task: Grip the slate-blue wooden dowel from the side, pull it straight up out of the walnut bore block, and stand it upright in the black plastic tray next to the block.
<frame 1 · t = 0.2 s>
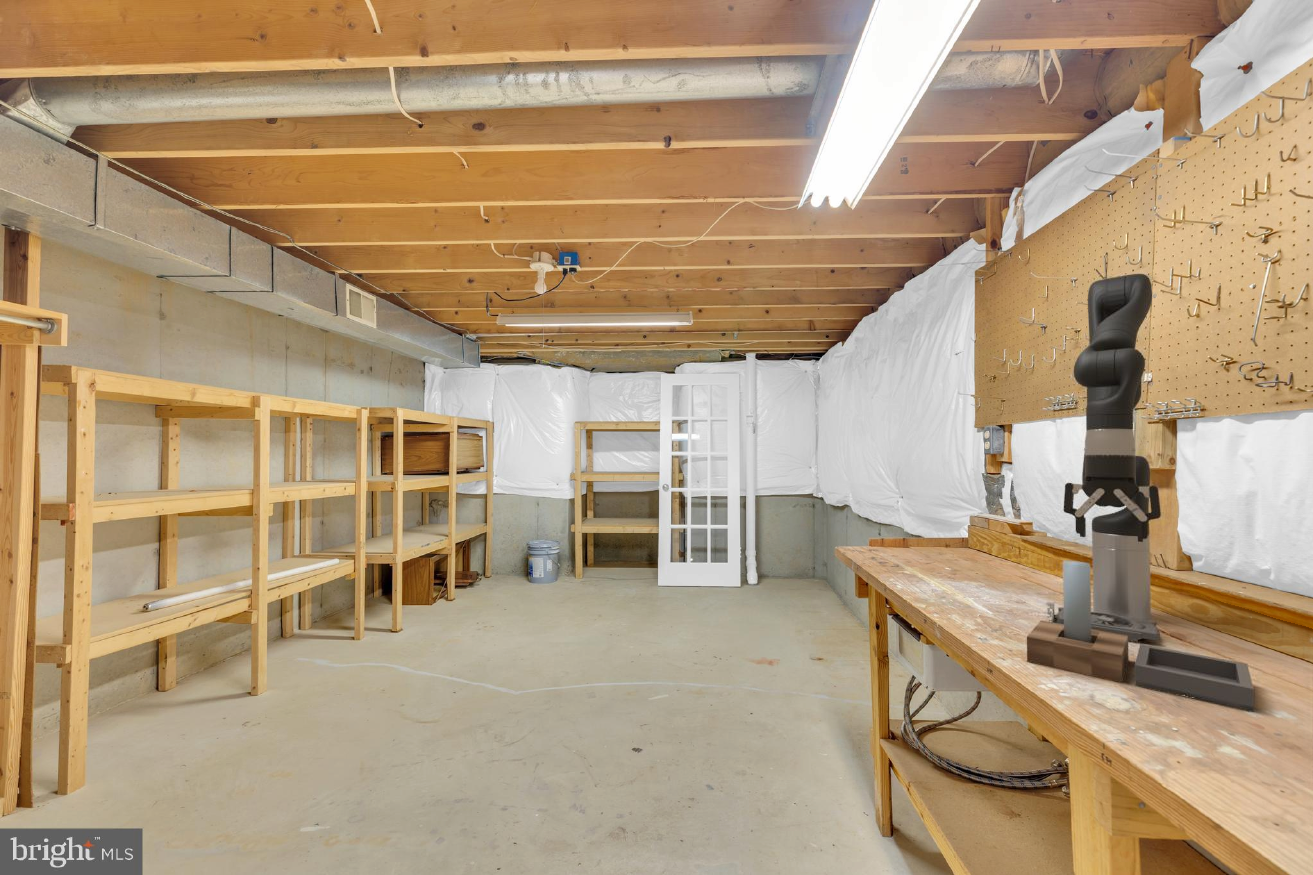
hand: (1110, 539, 106), 18 cm above the workbench, tool pointing down, fingers open, 8 cm apart
dowel: (1077, 611, 92), in the bore block
bore block: (1077, 660, 92), on the workbench
tray: (1191, 684, 83), on the workbench
graphics card: (1100, 636, 106), on the workbench
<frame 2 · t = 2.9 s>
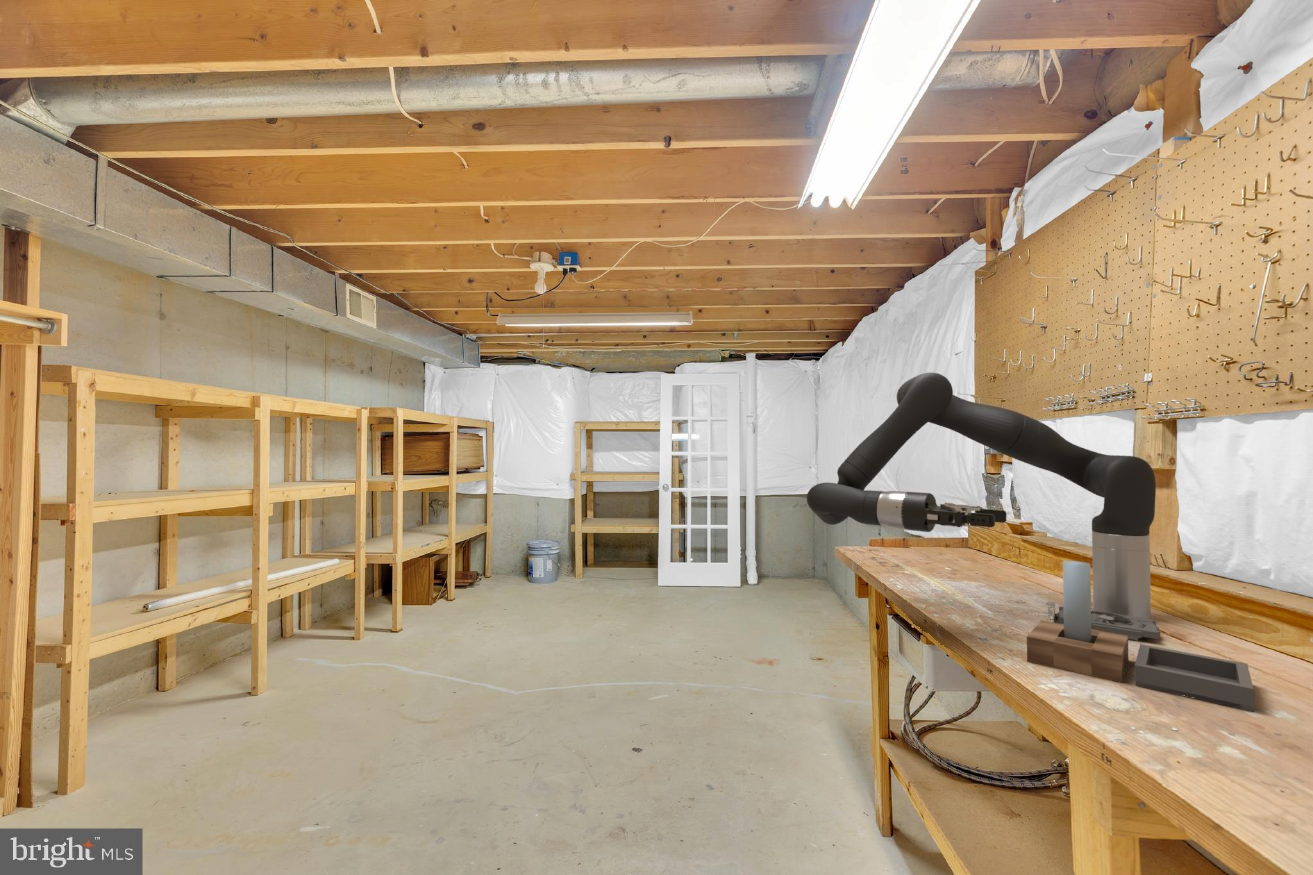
hand: (1000, 518, 100), 22 cm above the workbench, tool horizontal, fingers open, 8 cm apart
graphics card: (1100, 634, 107), on the workbench
everything else where it was.
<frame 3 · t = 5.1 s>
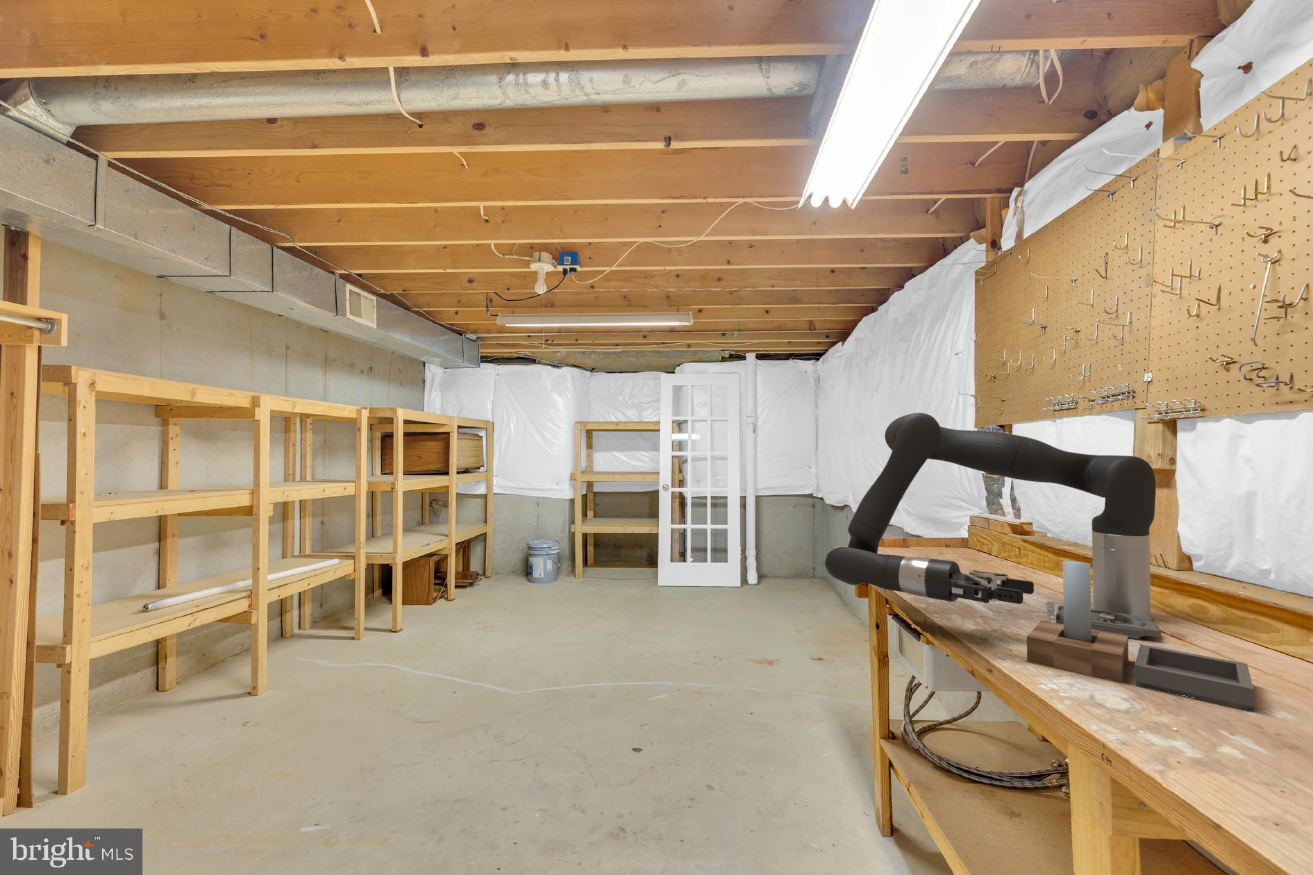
hand: (1028, 592, 97), 10 cm above the workbench, tool horizontal, fingers open, 8 cm apart
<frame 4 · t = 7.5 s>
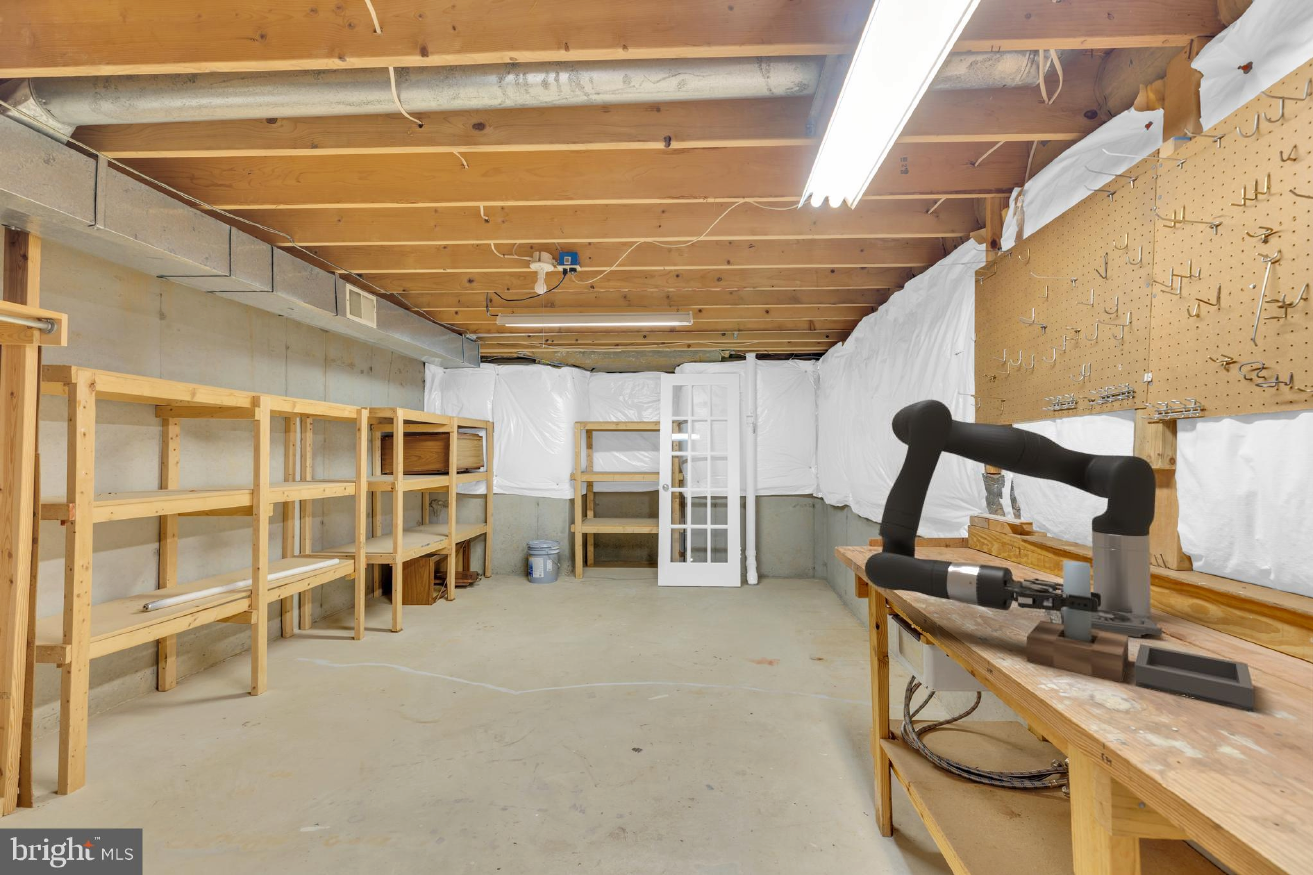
hand: (1098, 602, 90), 10 cm above the workbench, tool horizontal, fingers closed on dowel, 3 cm apart
dowel: (1077, 611, 92), in the bore block, touching gripper
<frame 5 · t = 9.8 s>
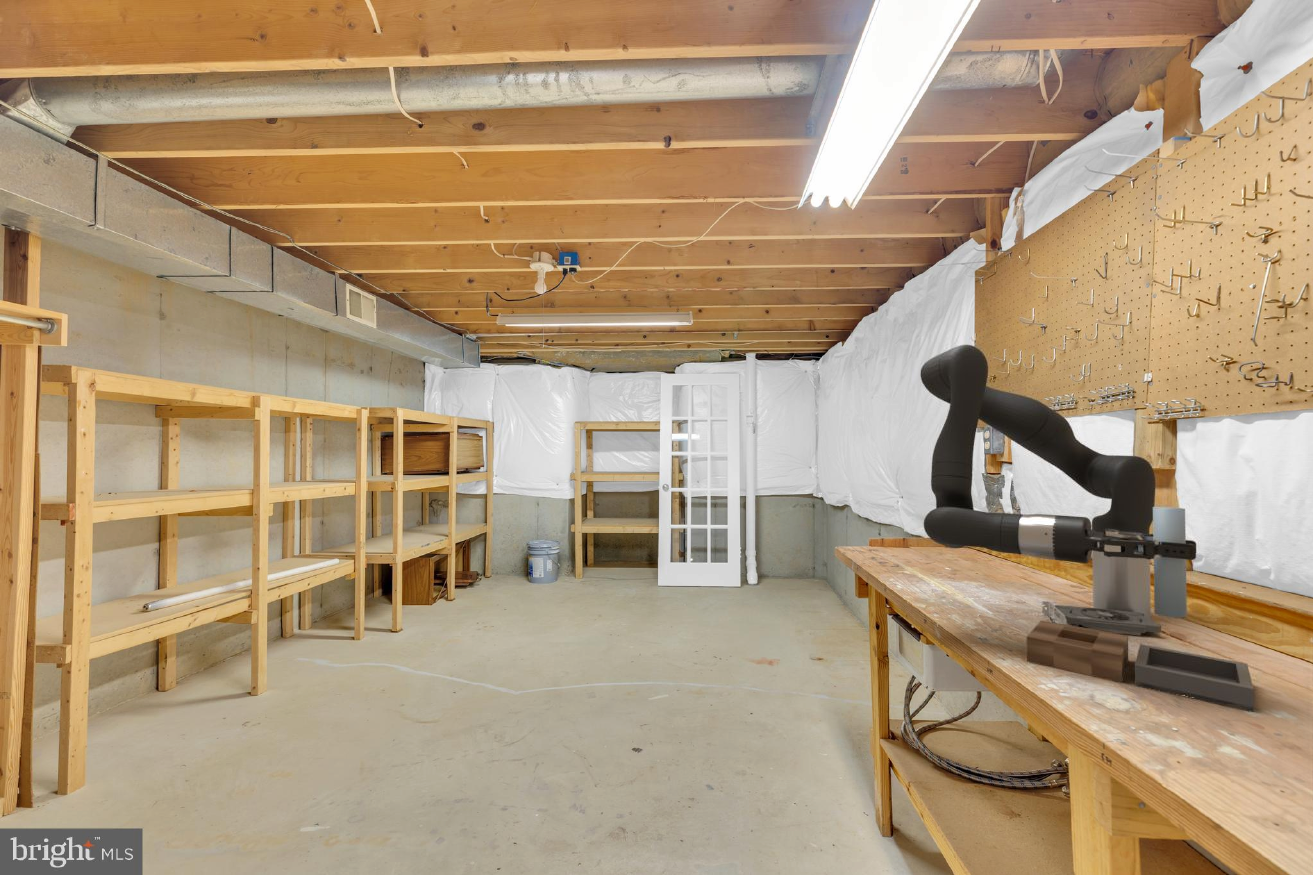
hand: (1195, 550, 83), 20 cm above the workbench, tool horizontal, fingers closed on dowel, 3 cm apart
dowel: (1169, 561, 84), point 18 cm above the workbench, touching gripper
when the fingers open (11 cm above the workbench, at t = 12.4 s): dowel stays where it is, resting on tray.
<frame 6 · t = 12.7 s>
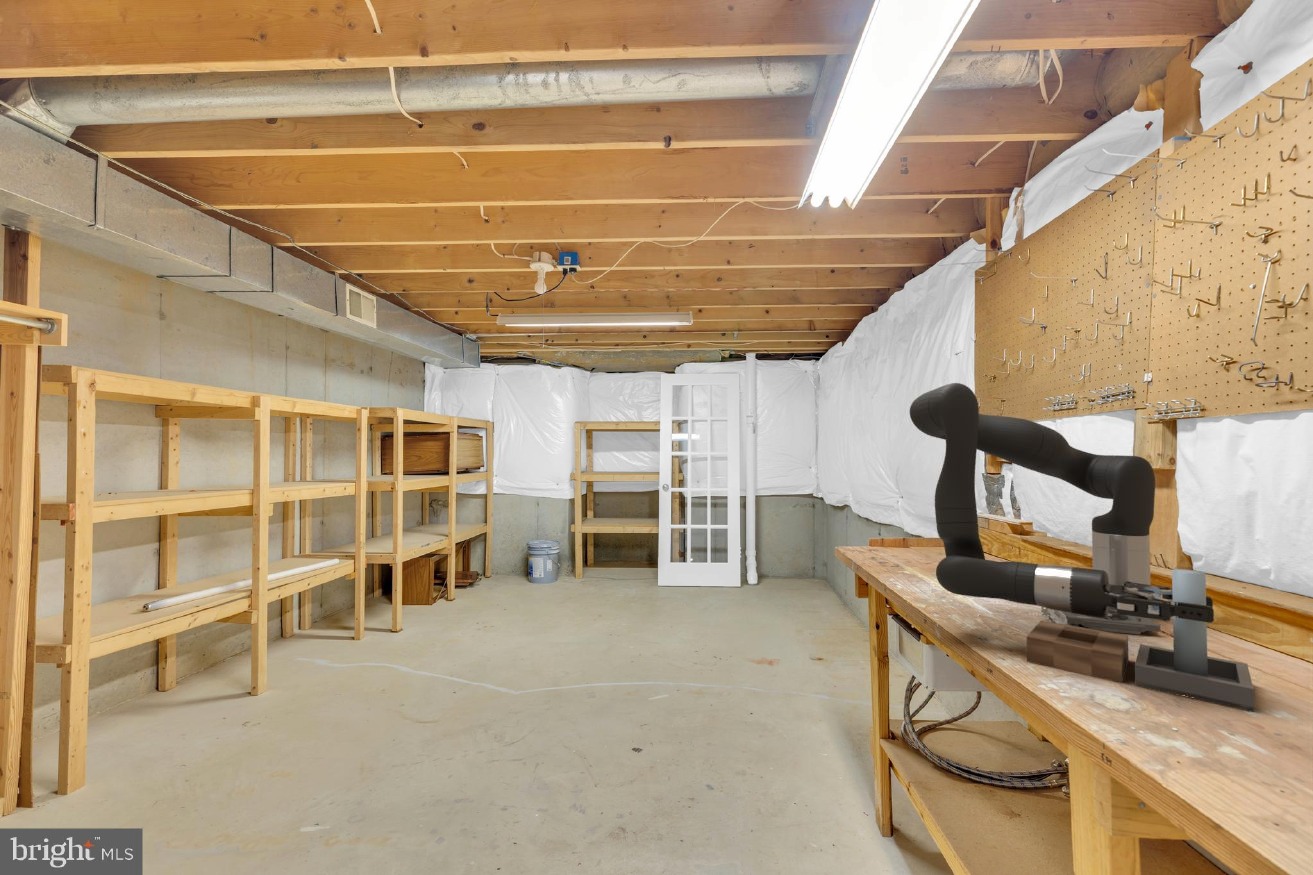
hand: (1212, 609, 81), 12 cm above the workbench, tool horizontal, fingers open, 6 cm apart
dowel: (1189, 626, 83), in the tray, point 9 cm above the workbench
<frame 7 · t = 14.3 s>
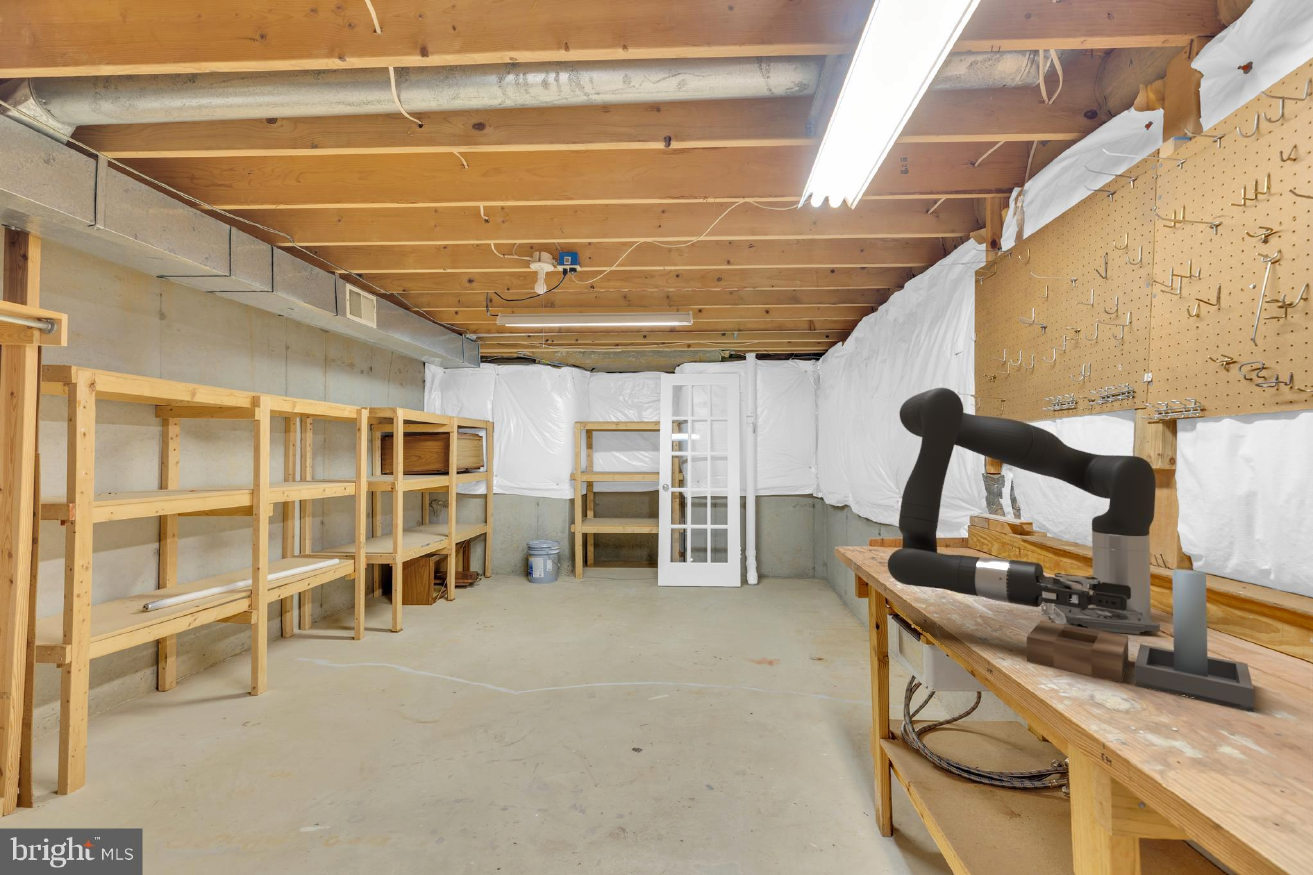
hand: (1128, 597, 88), 11 cm above the workbench, tool horizontal, fingers open, 8 cm apart
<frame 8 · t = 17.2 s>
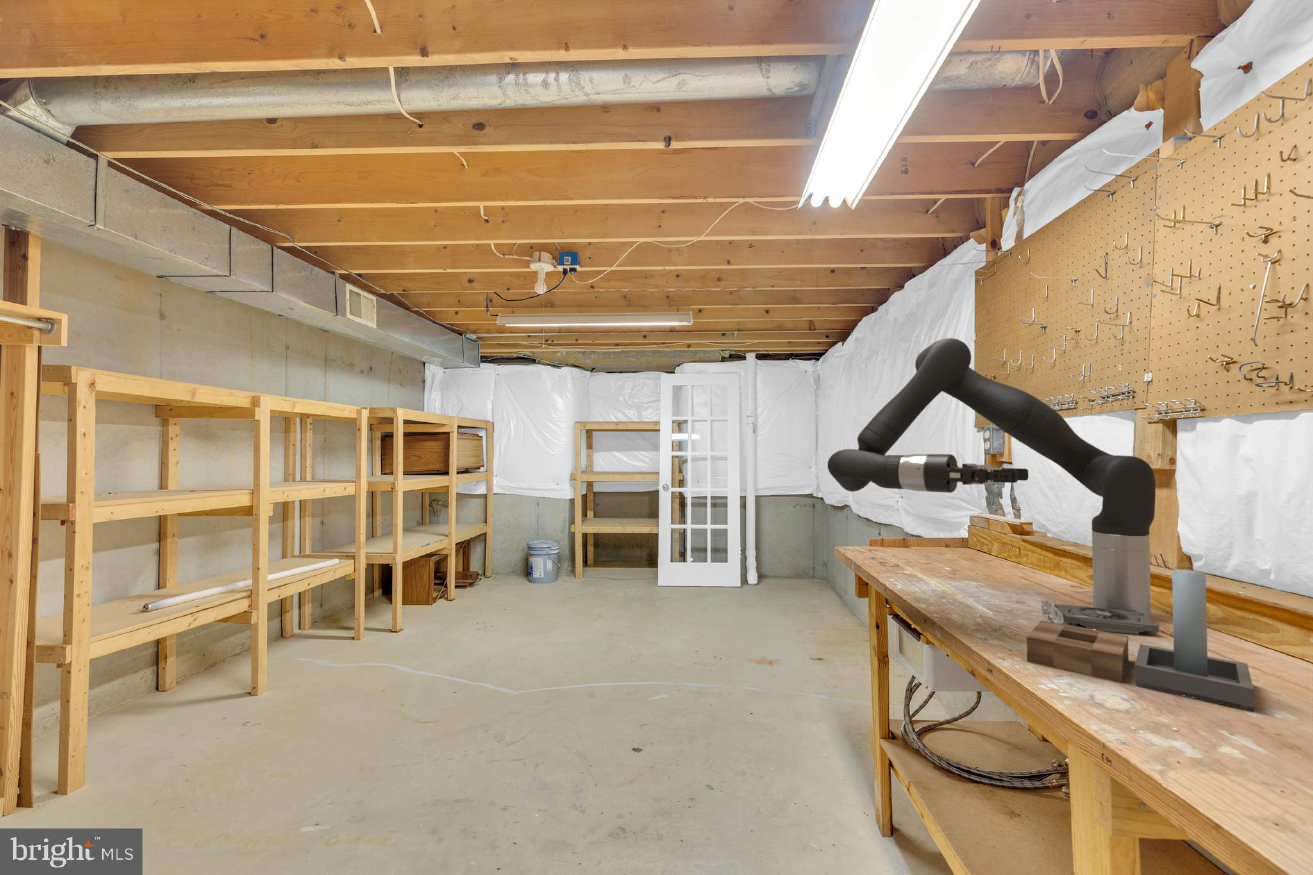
hand: (1022, 475, 101), 30 cm above the workbench, tool horizontal, fingers open, 8 cm apart
at the end: dowel inside the target area on the tray (0.1 cm from its centre), point 8.6 cm above the tray's base; dowel tilted 0°; the gripper is holding nothing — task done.
